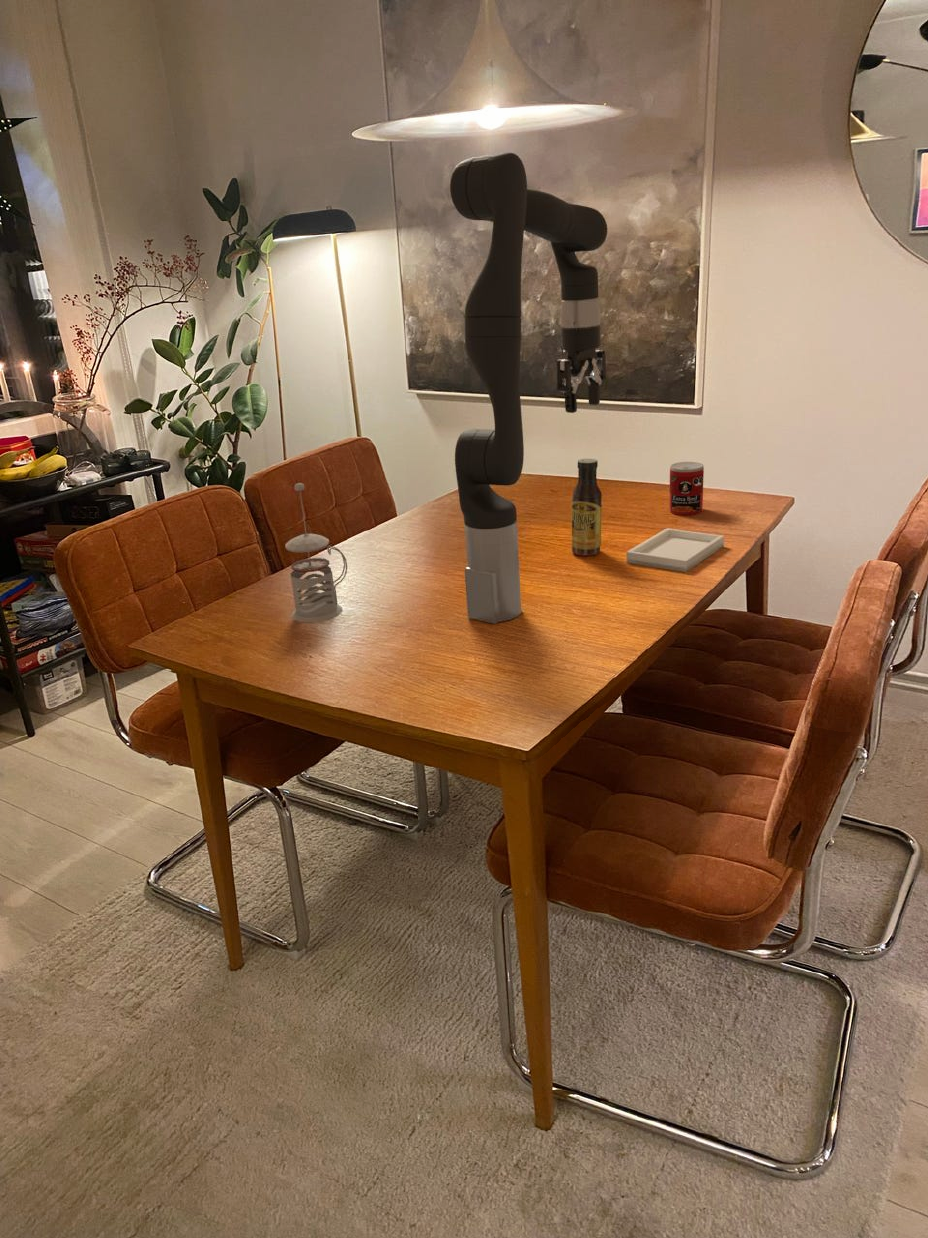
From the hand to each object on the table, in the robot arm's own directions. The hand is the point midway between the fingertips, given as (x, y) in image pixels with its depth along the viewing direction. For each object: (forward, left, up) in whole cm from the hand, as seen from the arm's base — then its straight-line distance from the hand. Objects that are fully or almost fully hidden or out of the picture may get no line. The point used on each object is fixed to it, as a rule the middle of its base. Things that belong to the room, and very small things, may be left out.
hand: (582, 408), depth 185 cm
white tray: (+7, -17, -30) cm, 36 cm away
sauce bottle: (0, 0, -31) cm, 31 cm away
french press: (-52, +27, -31) cm, 66 cm away
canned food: (+37, -5, -31) cm, 49 cm away
